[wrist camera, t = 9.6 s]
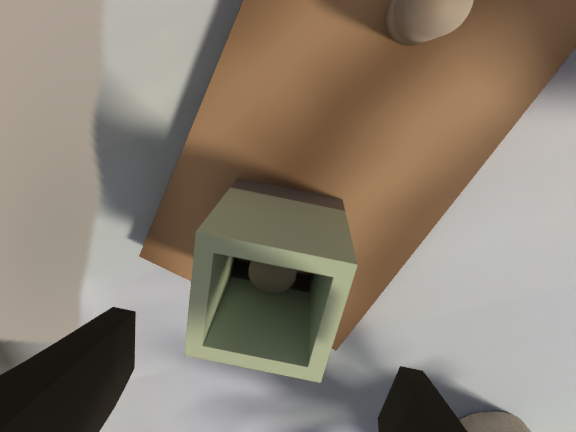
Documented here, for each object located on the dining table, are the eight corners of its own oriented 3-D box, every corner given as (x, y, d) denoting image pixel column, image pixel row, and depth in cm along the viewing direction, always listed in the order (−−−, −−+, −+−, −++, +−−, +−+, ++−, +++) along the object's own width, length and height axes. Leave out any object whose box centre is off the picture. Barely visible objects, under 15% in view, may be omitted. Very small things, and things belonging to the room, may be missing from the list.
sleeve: (342, 199, 16) (357, 264, 10) (318, 287, 18) (320, 382, 12) (237, 177, 16) (196, 231, 10) (225, 268, 18) (184, 355, 12)
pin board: (604, -15, 13) (728, -55, 9) (334, 335, 20) (339, 396, 16) (336, -204, 12) (346, -346, 8) (149, 245, 19) (106, 289, 15)
